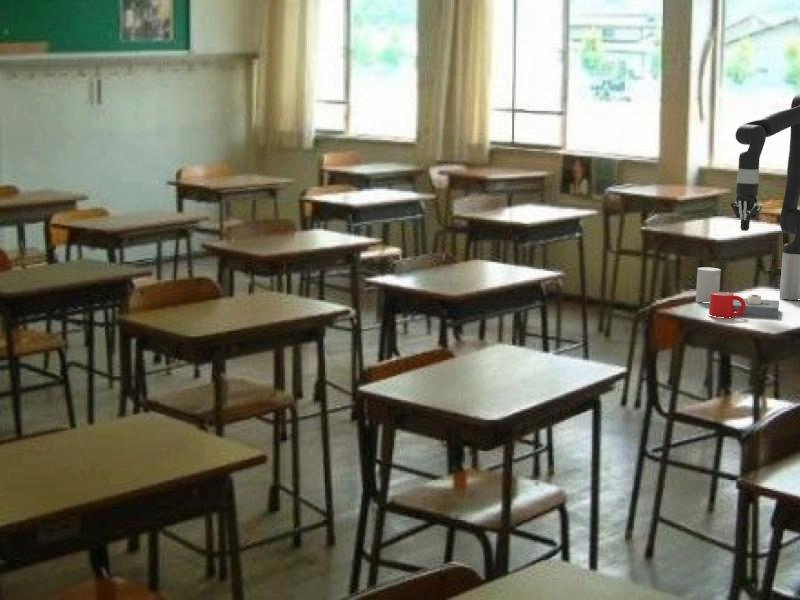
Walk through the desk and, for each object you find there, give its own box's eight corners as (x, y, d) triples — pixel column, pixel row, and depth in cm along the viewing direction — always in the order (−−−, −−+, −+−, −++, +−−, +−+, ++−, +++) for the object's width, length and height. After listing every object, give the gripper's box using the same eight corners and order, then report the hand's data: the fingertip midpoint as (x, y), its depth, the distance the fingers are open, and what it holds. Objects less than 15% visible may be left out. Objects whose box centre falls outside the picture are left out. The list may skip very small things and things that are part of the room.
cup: (720, 303, 472) (722, 270, 470) (698, 303, 472) (700, 270, 470) (715, 299, 480) (717, 267, 478) (693, 299, 480) (695, 267, 478)
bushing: (752, 311, 459) (753, 293, 458) (762, 313, 455) (763, 295, 454) (744, 312, 456) (745, 294, 455) (754, 314, 453) (755, 296, 452)
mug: (744, 320, 442) (746, 297, 441) (708, 317, 445) (709, 294, 444) (745, 316, 449) (746, 293, 448) (709, 313, 453) (710, 291, 451)
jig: (731, 307, 465) (732, 297, 465) (778, 310, 461) (779, 300, 460) (729, 315, 450) (729, 305, 450) (777, 318, 446) (778, 308, 445)
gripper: (769, 183, 459) (766, 232, 462) (740, 179, 470) (737, 228, 473) (754, 183, 455) (751, 233, 458) (726, 180, 466) (723, 229, 469)
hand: (744, 230), depth 465 cm, fingers closed
